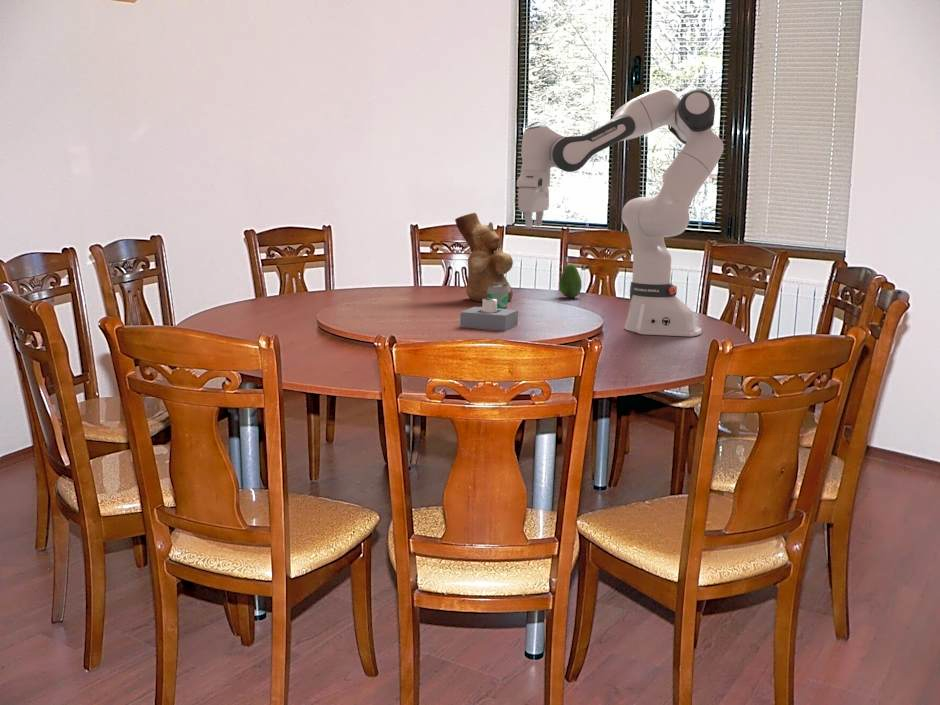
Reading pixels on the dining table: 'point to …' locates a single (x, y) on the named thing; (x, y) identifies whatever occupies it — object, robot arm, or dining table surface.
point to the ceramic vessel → (483, 257)
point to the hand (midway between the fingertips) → (533, 226)
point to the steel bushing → (489, 305)
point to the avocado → (570, 282)
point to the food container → (499, 294)
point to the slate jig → (489, 319)
